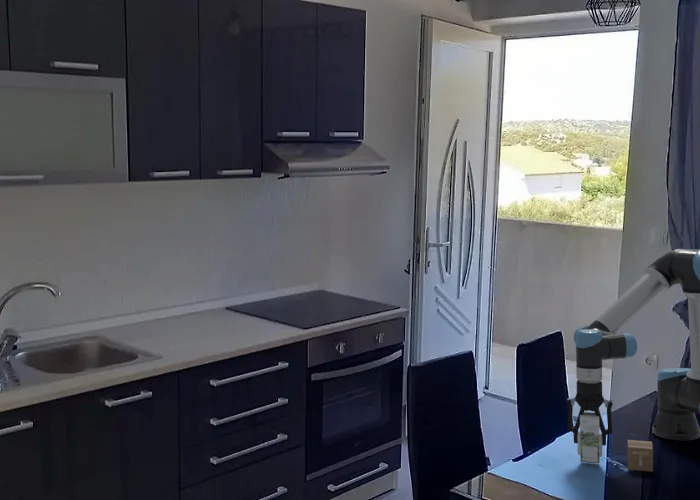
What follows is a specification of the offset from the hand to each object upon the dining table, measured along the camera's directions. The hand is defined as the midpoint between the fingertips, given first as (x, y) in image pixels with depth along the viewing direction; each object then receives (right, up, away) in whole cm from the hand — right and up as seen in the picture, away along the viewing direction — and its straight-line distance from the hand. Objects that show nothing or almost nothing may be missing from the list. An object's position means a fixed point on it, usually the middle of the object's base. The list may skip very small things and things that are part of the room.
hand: (590, 454), depth 227 cm
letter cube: (+15, -3, -3) cm, 15 cm away
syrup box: (0, -2, 0) cm, 2 cm away
